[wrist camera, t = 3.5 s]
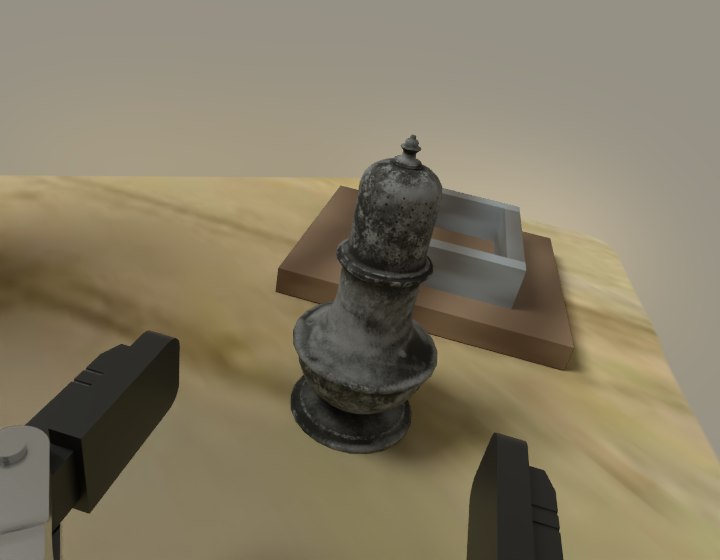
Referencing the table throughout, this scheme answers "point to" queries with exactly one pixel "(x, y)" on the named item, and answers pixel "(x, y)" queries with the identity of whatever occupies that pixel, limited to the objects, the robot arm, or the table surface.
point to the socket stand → (457, 277)
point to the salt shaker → (372, 315)
